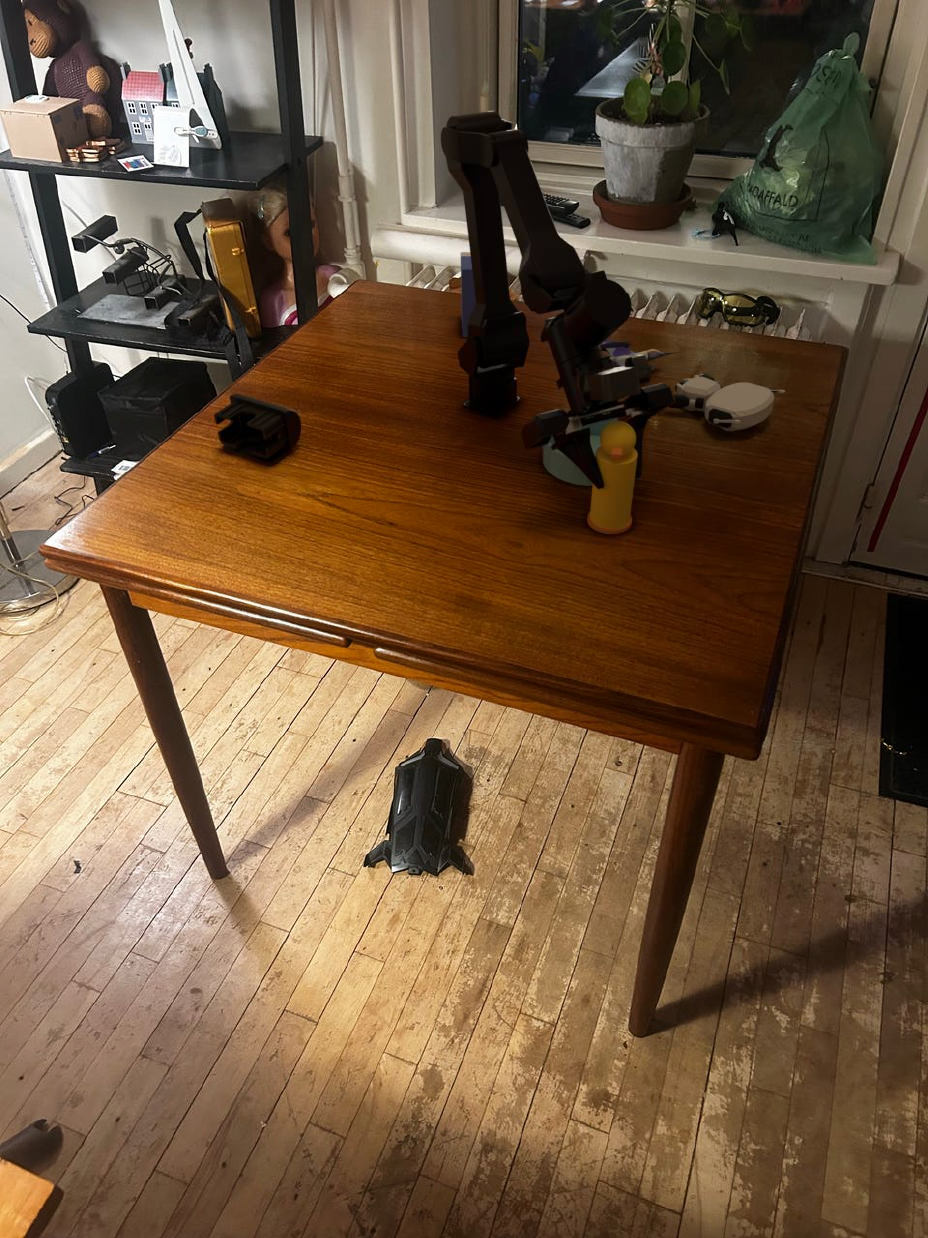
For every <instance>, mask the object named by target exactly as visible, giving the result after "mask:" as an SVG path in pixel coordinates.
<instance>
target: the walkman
mask: <svg viewBox="0 0 928 1238" xmlns="http://www.w3.org/2000/svg"><path fill="white" fill-rule="evenodd" d="M460 288H461V289H460V295H461V300H460V301H461V327H462V329H461V330H462V338H468V328H467V323H468V321H469V318H470V316H471V313H472V311H473V309H474V306H475V304H476V298H475V289H474V281H473V272H472V264H471V255H470V251H461V252H460Z"/></svg>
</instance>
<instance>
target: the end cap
mask: <svg viewBox="0 0 928 1238" xmlns="http://www.w3.org/2000/svg"><path fill="white" fill-rule="evenodd" d="M229 401H230V404H228V405H225V407H223V408H222V409H220V410H218V411H216V412H215V413H214V414H213V417H214V423H215V425H217V426H218V425H220V424H221V423H223V422H224V421H225V420H226V421H230V422H229V423H228V424H227V425H226V426H224V427H223V428H222V429H220V430H218V431H217V436H218V440H219V442H220V444H222V451H223V452H225V453H228V454H231V455H233V456H237V457H240V458H243V459H246V460H249V461H252V462H255V463H257V464H261V465H264V466H267V467H273V466H275V465H276V464H278V463H279V462H281V461H282V460H283V459H285V458H286V457H288V456H289V455H290V453H291V452H292V451H293V449H294V448H295V447H296V445H297V444H298V442H299V440H300V437H301V433H302V421H301V417H300V415H299V413H298V412H297V411H296V410H294V409H292V408H288V407H285V406H281V405H278V404H275V403H271V402H268V401H265V400H262V399H258V398H255V397H251V396H248V395H245V394H241V393H233V394H230V395H229Z"/></svg>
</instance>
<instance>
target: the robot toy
mask: <svg viewBox="0 0 928 1238" xmlns="http://www.w3.org/2000/svg"><path fill="white" fill-rule="evenodd" d="M674 391H675V393H673V395H674V398H675V401H676V402H675V403H673V404H672V405H670V406H669V407H668V408H669V409H678V410H679V409H683V408H684V409H685V410H687V411H691V412H694V411H698V412H703V413H704V419H705V420H706V421H707V422H708V423H709V424H710V425H713V426H717V427H719V428H720V429H722V430H724V431H725V432H735V431H742V430H747V429H748V428H752V427H754V426H756V425H758V424H760V423H762V422H764V421H765V420H766V419H767V418H768V417H769V416H770V415H771V413H772V412H773V409H774V403H775V393H777V394H778V393H779V394H783V393H785V392H786V390H784V389H770V388H768V387H765V386H761V385H758V384H755V383H751V382H747V381H746V382H735V383H731V384H729V385H726V386H723V385H721V384H720V383H719V382H717V381H715V378H714V377H713V376H712V375H711V374H709V373H698V374H695V375H694V376H693V377H691V378H690V377H688V378H683V380H682V381H679V382H677V383H676V384H675V387H674Z"/></svg>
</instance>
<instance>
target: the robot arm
mask: <svg viewBox="0 0 928 1238" xmlns="http://www.w3.org/2000/svg"><path fill="white" fill-rule="evenodd" d="M517 126H518V125H517V123H516V122H513V121H510V120H507V119H505V118H501V116H500V113H499V112H498V111H496V110H486V111H479V112H471V113H465V114H457V115H451V116H449V118H448V120H447V121H446V126H444V127H442V129H441V131H440V145H441V150H442V153H443V155H444V156H445V161H446V165H447V170H448V172H449V173H450V175H451V176H452V178H453V180H454V181H455V182H456V183H457V185H458V187H460V189H461V190H462V196H463V204H464V211H465V221H466V227H467V228H466V229H467V230H466V231H467V237H468V247H469V252H470V255H471V264H472V272H473V281H474V289H475V298H476V304H475V306H474V309H473V311H472V313H471V316H470V318H469V321H468V323H467V328H468V337H467V339H466V340H465V342H464V343H463V344H462V346H461V347H460V348H459V350H458V351H457V357H458V364H459V367H460V368H461V369H462V370H463V371H464V373H466V374H467V375H468V399H467V400H466V401H463V404H462V407H463V408H464V409H468V410H470V411H474V412H477V413H480V414H483V415H486V416H489V417H493V418H496V419H498V418H501V417H502V416H504V415H505V414H506V413H507V412H508V411H509V410H511V409H512V408H513V407H515V406H516V405H517V404H518V403H520V400H521V397H520V396H518V379H517V378H516V369H517V368H524V367H525V365H526V359H527V355H528V351H529V348H530V343H531V341H530V336H529V334H528V330H527V329H528V328H527V316H526V315H525V313H524V312H523V311H520V310H519V309H518V308H517V307H516V305H515V304H514V303H513V301H512V299H511V294H510V282H509V274H508V273H509V271H508V264H507V254H506V244H505V242H506V241H505V232H504V225H503V224H504V223H503V215H502V205H503V208H504V211H505V213H506V216H507V218H508V221H509V224H510V227H511V229H512V231H513V235H514V237H515V240H516V243H517V246H518V249H519V252H520V256H521V259H520V262H519V263H520V264H519V269H518V274H517V276H518V280H519V284H520V293H521V296H522V300H523V303H524V304H525V306H527V308H528V309H529V311H530V312H534V313H535V314H537V315H545V314H548V313H552V312H557V311H561V310H563V311H562V312H560V313H558V314H557V315H555V316H554V317H550V318H545V320H544V327H543V328H542V331H541V332H540V341H541V343H545V342H548V345H549V348H550V351H551V354H552V357H553V360H554V363H555V367H556V370H557V372H558V373H557V374H558V376H559V378H558V379H557V380H556V381H555V382H556V385H557V386H556V387H557V389H558V390H562V389H563V391H564V395H565V397H566V400H567V403H568V406H569V410H568V411H565V409H563V408H558V409H554V410H550V411H547V412H543V413H538V414H536V415H534V417H532V418H531V419H530V420H529V421H528V422H527V423H525V424H524V425H523V427H522V429H521V439H522V443H523V446H524V449H525V450H526V451H529V450H532V449H537V448H540V447H543V446H544V445H547V444H548V443H549V441H550V439H551V437H552V436H553V438H554V441H555V443H554V444H553V445H552V446H551V449H552V450H556V449H558V450H559V451H561V452H562V453H563V454H564V455H565V456H566V457H567V458H569V459H570V460H571V461H572V462H573V463H574V464H575V465H576V466H577V467H578V468H579V469H580V470H581V471H582V472H583V473H584V474H585V476H586V477H587V478H588V479H589V480H590V481H591V482H592V483H593V484H594V485H595V486H596V488H597V489H602V488H603V487H604V483H603V478H602V475H601V472H600V469H599V466H598V463H597V461H596V458H595V455H594V452H593V450H592V447H591V444H590V427H589V428H585V429H583V427H586V426H590V425H594V424H597V423H601V422H605V421H609V420H613V419H616V418H617V420H618V421H622V422H625V423H628V424H629V425H630V426H631V427H632V428H633V429H634V431H635V434H636V443H635V446H634V449H635V450H636V451H637V454H638V457H637V465H636V473H635V480H637V479H639V478H641V477H642V476H643V475H642V472H643V441H644V433H645V428H646V426H647V423H648V421H649V420H650V419H651V418H653V417H654V416H657V415H658V414H659V413H661V412H663V411H665V410H666V409H667V408H669V406H670V405H672V404H673V403H675V402H676V401H675V398H674V395H673V394H674V393H673V389H672V388H671V387H670V386H669V385H667V383H665V382H661V383H657V384H652V385H647V386H645V387H641V385H642V384H646V383H650V382H651V379H652V373H651V372H652V371H650V363H649V361H648V362H647V359H646V357H645V355H637V356H632V357H628V358H626V359H625V366H621V367H615V366H616V365H615V363H613V361H612V359H610V358H611V356H610V355H608V356H607V357H604V356H603V353H604V352H603V351H602V350H601V347H600V345H601V344H602V343H603V342H604V341H605V340H608V339H609V338H610V337H611V336H612V335H613V334H614V333H615V332H616V331H618V330H619V329H620V328H621V327H622V326H624V324H625V323H626V322H627V321H628V320H629V318H630V316H631V314H632V311H633V310H632V309H633V307H632V306H633V305H632V299H631V296H630V293H629V292H627V291H626V290H625V288H624V287H623V286H622V285H621V284H620V283H618V282H617V281H616V280H612V279H610V278H608V277H607V274H606V271H605V270H604V269H601V270H596V271H588V269H586V267H585V266H584V264H583V262H582V260H581V258H580V255H579V254H578V252H577V250H576V248H575V247H574V245H572V244H571V243H570V242H568V241H567V240H565V239H564V238H563V237H562V236H561V235H560V234H559V232H558V230H557V228H556V225H555V223H554V220H553V218H552V214H551V212H550V209H549V206H548V203H547V202H546V201H547V200H546V199H545V196H544V194H543V193H544V192H543V190H542V187H541V185H540V183H539V180H538V177H537V174H536V172H535V171H536V170H535V168H534V166H533V163H532V161H531V158H530V156H529V150H530V148H529V140H528V137H527V135H526V133H525V132H524V131H523V130H520V129H518V127H517ZM501 202H502V204H501ZM602 352H603V353H602ZM625 397H627V398H625ZM624 398H625V399H624ZM621 399H624V400H621ZM619 400H621V401H619ZM606 413H607V414H606ZM592 416H593V417H592ZM589 417H591V418H589ZM585 418H587V419H585Z"/></svg>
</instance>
